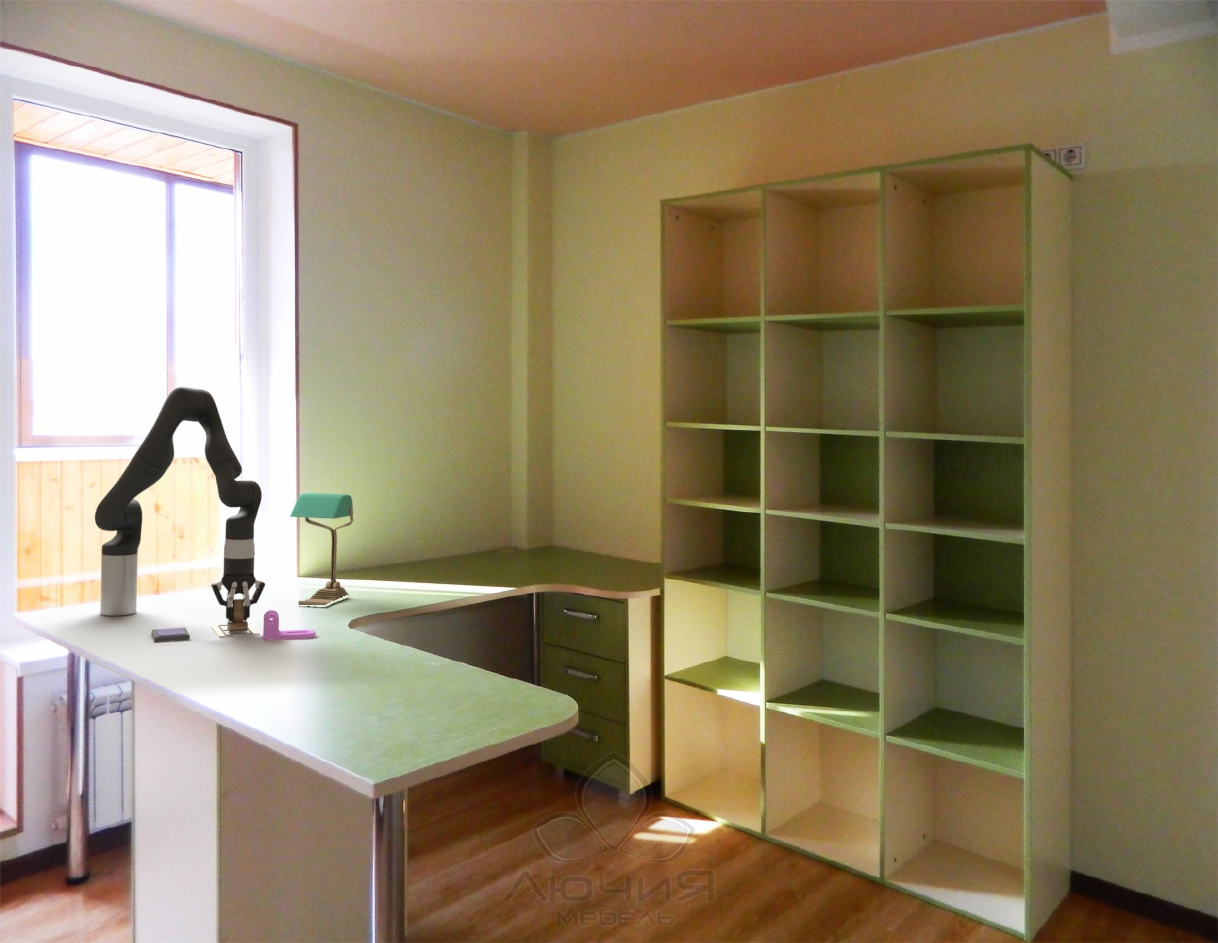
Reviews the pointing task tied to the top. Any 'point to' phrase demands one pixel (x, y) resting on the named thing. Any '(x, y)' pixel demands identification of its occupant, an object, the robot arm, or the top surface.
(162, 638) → the ink pad
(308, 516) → the banker's lamp
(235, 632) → the sheet
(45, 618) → the top surface
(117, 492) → the robot arm
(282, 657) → the top surface
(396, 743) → the top surface
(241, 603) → the stamp
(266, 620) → the bracket
